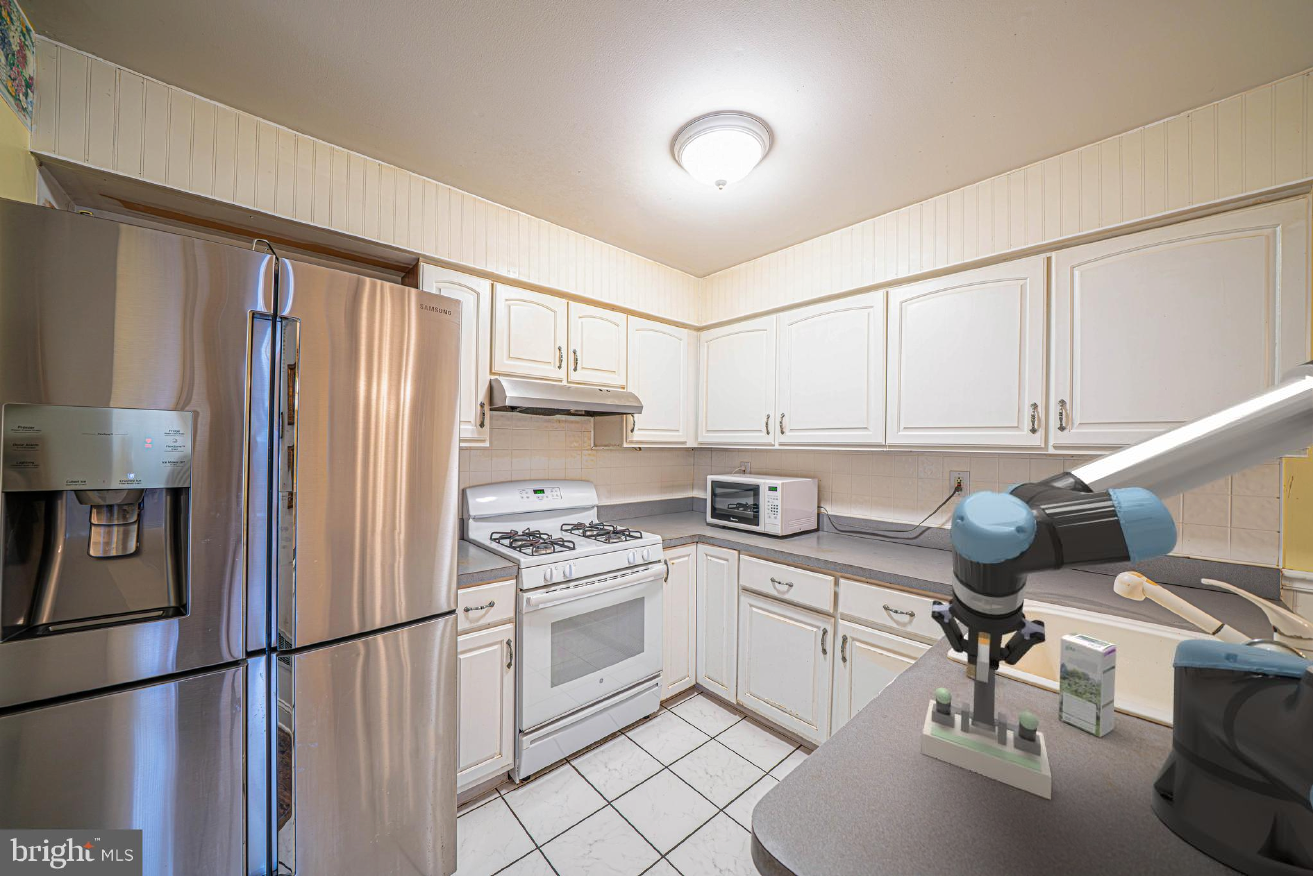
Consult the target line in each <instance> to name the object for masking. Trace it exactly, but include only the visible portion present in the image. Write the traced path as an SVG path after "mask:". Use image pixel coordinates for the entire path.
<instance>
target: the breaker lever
mask: <svg viewBox="0 0 1313 876" xmlns="http://www.w3.org/2000/svg"><path fill="white" fill-rule="evenodd" d="M989 642H990V640H988V639H984V638H979V639H978V643H979V644H984V645H988V646H989ZM976 674H977V666H975V680H974V683H973V684H974V685H973V686H974V687H973V711H972V712H973V714H972V721H971V725H972V726H975V727H978V728H981V729H984V730H988V731H991V732H994V733H995V732H996V721H994V718H995V704H996V703H995V697H996V696H995V695H996V690H995V689H996V670H992V669H989V673H988V683H987V682H983V681H979V680H976Z"/></svg>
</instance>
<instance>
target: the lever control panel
mask: <svg viewBox="0 0 1313 876" xmlns="http://www.w3.org/2000/svg"><path fill="white" fill-rule="evenodd" d="M934 696H935V700H933V699H929V703H928V704H929V705H928V708H927V712H926V716H925V721H924V726H923V730H922V735H921V736H922V738H921V739H922V741H921V754H923V755H926V756H929V757H931V758H934V759H936V758H937V760H939V761H942V762H945V763H948V764H950V763H951V765H954V766H956V767H959V768H961V767H962V769H963V770H967V771H970V770H971V771H970V772H972V773H973V772H974V773H975V772H977V773H976V774H979V775H981V774H982V775H981V776H984V777H986V776H987V778H989V779H992V780H995V779H996V780H995V781H998V782H1001V783H1004V784H1006V785H1010V786H1012V787H1014V788H1017V789H1021V790H1023V791H1025V792H1027V793H1028V792H1029V793H1032V794H1034V795H1037V796H1040V797H1041V798H1045V799H1048V800H1050V801H1051V799H1052V778H1053V777H1052V772H1051V768H1050V762H1049V759H1048V758H1049V757H1048V753H1047V748H1046V744H1045V743H1046V742H1045V738H1044V734H1043V732H1041V731H1038V727H1039V720H1038V718H1037V716H1035V714H1034V713H1031V712H1030V711H1022V712H1020V714H1019V716H1018V725H1017V724H1014V723H1011V722H1008V719H1007V714H1006V713H1003V712H1000V711H999V712H997V718H995V717H994V721H996V732H995V733H994V732H991V731H988V730H984V729H981V728H978V727H975V726H972V725H971V721H972V714H973V711H972V710H970V709H971V704H970V703H969V702H966V701H962V702H961V707H958V706H954V705H952V694H951V692H950V691H949V690H948V689H947V688H945V687H938V688H937V689H936V690H935V692H934Z"/></svg>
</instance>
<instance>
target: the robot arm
mask: <svg viewBox="0 0 1313 876" xmlns="http://www.w3.org/2000/svg"><path fill="white" fill-rule="evenodd" d="M1311 446H1313V359H1312V360H1309V361H1307V362H1304V363H1302V364H1300V365H1296V366H1295V367H1292V368H1290V369H1289V370H1287V371H1285V372H1284V373H1283V375H1282V376H1281V378H1280V380H1279V383H1276V384H1274V385H1272V386H1269V387H1267V388H1266V389H1262V390H1260V391H1258V392H1255V393H1253V394H1250V395H1247V396H1246V397H1243V398H1240V399H1238V400H1236V401H1233V402H1231V403H1228V404H1225V405H1224V406H1221V407H1219V408H1216V409H1213V410H1211V411H1209V412H1207V413H1203V414H1201V415H1198V416H1196V417H1194V418H1192V419H1190V420H1187V421H1184V422H1182V423H1179V424H1177V425H1175V426H1172V427H1170V428H1168V429H1164V430H1162V431H1160V432H1158V433H1156V434H1153V435H1150V436H1147V437H1145V438H1142V439H1141V440H1139V441H1136V442H1133V443H1130V444H1128V445H1126V446H1123V447H1121V448H1118V449H1116V450H1113V451H1111V452H1109V453H1107V454H1104V455H1101V456H1099V457H1096V458H1094V459H1092V460H1089V461H1087V462H1085V463H1082V464H1079V465H1077V466H1075V467H1072V468H1070V469H1067V470H1065V471H1063V472H1060V473H1058V474H1055V475H1052V476H1050V477H1047V478H1045V479H1042V480H1040V481H1038V482H1021V483H1016V484H1014V485H1011V486H1009V487H1007V488H1006V489H1005V490H1004V491H1002V492H1001V493H1000V492H993V491H992V490H984V491H983V490H982V491H977V492H972V493H971V494H968V495H966V496H965V497H964V498H962V499H961V500H959V502H958V503H957V504H956V506H955V507H954V508H953V509H954V510H953V513H952V519H951V521H950V522H951V524H950V526H951V527H950V530H949V537H950V540H951V541H950V542H951V543H950V544H951V557H952V558H951V559H952V560H951V561H952V562H951V584H952V587H951V589H952V592H951V593H952V598H951V599H950V600H949V601H948V603H947V604H946V603H945V604H944V603H943V602H942V601H940V600H935V599H934V600H933V601H932V605H931V606H932V607H931V614H930V615H931V619H933V620H934V621H935V622H936V623H937V624H938V625H939V626H940V628H941V629H942V632H943V633H944V635H945V637H946V639H947V640H948V642H949V644H950V646H951V648H952V649H953V651H954V652H955V653H957V654H962V653H966V655H967V654H968V663H969V664H972V665H975V666H977V674H976V680H979V681H983V682H987V683H988V673H989V669H992V670H995V671H998V670H999V669H1000V662H1004V663H1005V664H1006V665H1008V666H1015V665H1017V663H1018V662H1019V661H1020V660H1021V659H1022V658H1024V656H1025V655H1026V654H1027V653H1028V652H1029V651H1030V650H1031V649H1032V647H1033V646H1036V645H1038V644H1042V643H1045V642H1046V630H1045V629H1046V628H1045V622H1044V621H1043V620H1040V619H1035V620H1034V619H1033V620H1029V619H1026V615H1025V613H1024V612H1023V610H1024V603H1025V601H1024V600H1025V595H1026V587H1027V581H1028V576H1029V574H1036V573H1046V572H1052V571H1062V570H1071V569H1077V568H1087V567H1096V566H1106V565H1113V564H1114V565H1115V564H1123V563H1124V564H1125V563H1130V564H1135V563H1136V562H1139V561H1140V562H1141V561H1145V560H1151V559H1156V558H1161V557H1165V556H1167V555H1169V554H1171V552H1173V551H1174V550H1175V548H1176V546H1177V543H1178V530H1177V527H1176V523H1175V521H1174V518H1173V516H1172V514H1171V512H1170V510H1169V508H1168V507H1167V505H1166V504H1165V503H1164V501H1165V500H1168V499H1171V498H1174V497H1176V496H1179V495H1181V494H1184V493H1187V492H1190V491H1193V490H1196V489H1198V488H1201V487H1203V486H1206V485H1209V484H1212V483H1214V482H1217V481H1220V480H1223V479H1226V478H1227V477H1230V476H1234V475H1236V474H1239V473H1241V472H1244V471H1247V470H1250V469H1253V468H1255V467H1259V466H1261V465H1264V464H1267V463H1268V462H1271V461H1275V460H1277V459H1279V458H1282V457H1285V456H1287V455H1290V454H1293V453H1296V452H1299V451H1301V450H1303V449H1307V448H1309V447H1311ZM956 620H957V621H959V622H960V624H962V625H963V626H965V628H966V627H967V639H965V638H964V633H963V632H962V630H961V628H960V627H959V624H958V622H957V621H956ZM979 632H985V633H988V634H990V642H989V646H988V645H984V644H979V643H978V639H979ZM1014 632H1015V633H1014ZM1012 633H1014V634H1013V635H1012V636H1011V637H1010V638H1009V640H1008V641H1007V642H1006V643H1005V644H1004V647H1002V641H1003V636H1005V635H1008V634H1012ZM1172 668H1173V700H1172V701H1173V703H1172V704H1173V706H1172V708H1173V709H1172V711H1173V712H1172V744H1171V745H1172V747H1171V751H1170V752H1169V754H1168V755H1167V756H1168V757H1167V758H1166V760H1165V761H1164V762H1163V765H1162V766H1161V768H1160V770H1159V771H1158V772H1157V774H1156V776H1155V778H1154V779H1153V782H1152V784H1151V791H1150V793H1151V794H1150V804H1151V807H1152V810H1153V811H1154V814H1156V816H1157V817H1158V818H1159V819H1160V820H1161V821H1162V823H1164V825H1166V826H1167V827H1168V828H1169V829H1170V830H1171V831H1173V832H1174V833H1175V834H1177V835H1178V836H1179V837H1181V838H1182V839H1183V840H1185V841H1187V842H1188V843H1189V844H1191V846H1194V847H1195V848H1196V849H1197V850H1198V849H1199V850H1200V851H1201V852H1203V853H1205V854H1207V855H1209V856H1210V857H1212V858H1214V859H1215V860H1217V861H1219V862H1221V863H1223V864H1224V865H1227V866H1229V867H1231V868H1233V869H1235V870H1237V871H1239V872H1241V873H1244V874H1245V875H1248V876H1313V660H1311V659H1308V658H1304V657H1301V656H1297V655H1293V654H1290V653H1284V652H1281V651H1276V650H1271V649H1267V648H1261V647H1257V646H1252V645H1247V644H1246V645H1245V644H1240V643H1233V642H1229V641H1228V642H1226V641H1220V640H1212V639H1211V640H1210V639H1201V638H1200V639H1197V638H1190V639H1184V640H1182V641H1181V642H1179V643H1178V644H1177V645H1176V649H1175V654H1174V659H1173V663H1172Z"/></svg>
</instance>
